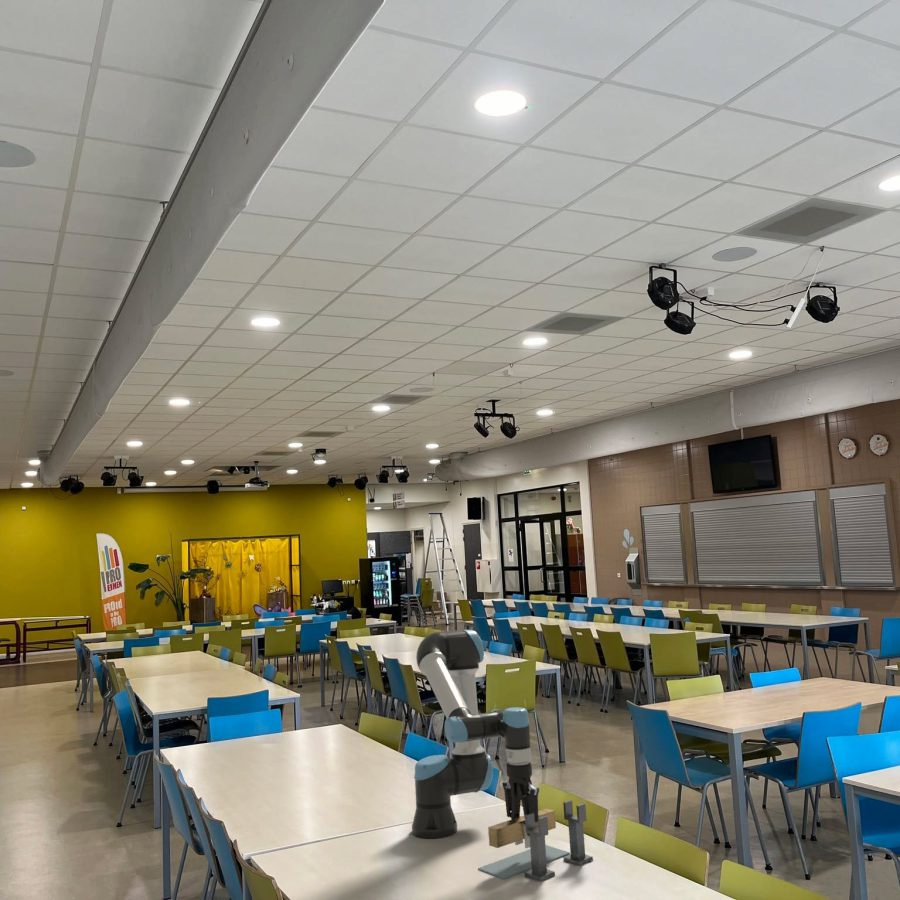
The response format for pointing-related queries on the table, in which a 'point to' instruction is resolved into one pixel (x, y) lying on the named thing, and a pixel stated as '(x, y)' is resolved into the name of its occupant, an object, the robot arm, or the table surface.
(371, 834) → the table surface
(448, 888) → the table surface
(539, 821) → the rack
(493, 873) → the mat
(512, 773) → the robot arm
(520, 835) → the rail
